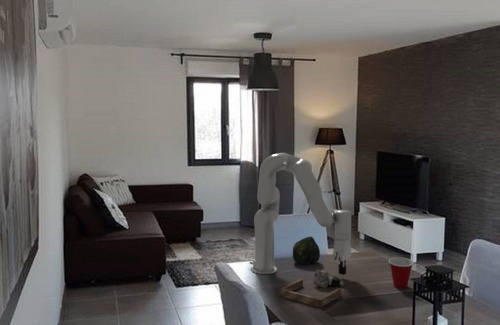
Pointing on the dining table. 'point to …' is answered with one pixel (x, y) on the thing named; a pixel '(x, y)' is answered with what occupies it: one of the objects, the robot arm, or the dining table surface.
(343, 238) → the robot arm
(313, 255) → the squash
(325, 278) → the caster wheel
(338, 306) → the dining table surface
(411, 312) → the dining table surface
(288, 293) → the walnut bay
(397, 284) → the plastic cup
